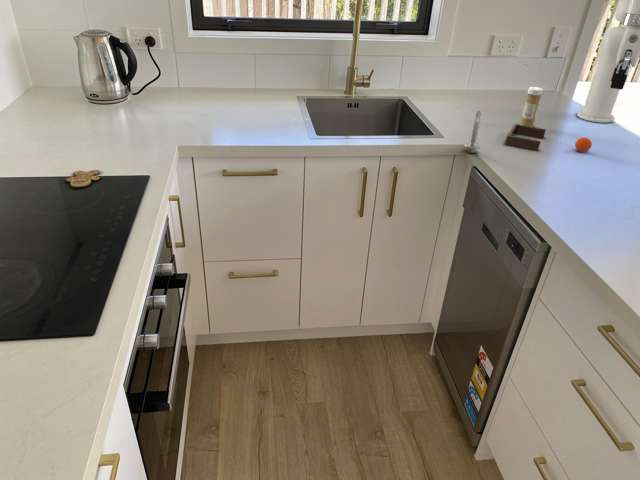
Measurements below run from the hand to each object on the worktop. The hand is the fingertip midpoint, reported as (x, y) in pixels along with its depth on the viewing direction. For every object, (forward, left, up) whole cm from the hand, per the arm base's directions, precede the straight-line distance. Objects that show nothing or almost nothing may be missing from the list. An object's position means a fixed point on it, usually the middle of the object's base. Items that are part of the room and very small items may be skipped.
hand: (616, 85), depth 141 cm
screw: (+21, -34, -21) cm, 45 cm away
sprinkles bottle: (-14, -23, -21) cm, 34 cm away
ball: (+2, -4, -18) cm, 19 cm away
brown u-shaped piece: (+2, -21, -21) cm, 29 cm away
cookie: (+96, -117, -21) cm, 152 cm away
